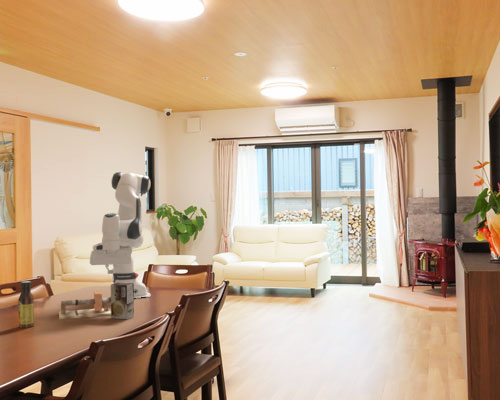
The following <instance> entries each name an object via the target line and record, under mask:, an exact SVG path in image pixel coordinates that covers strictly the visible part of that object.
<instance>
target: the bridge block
mask: <svg viewBox="0 0 500 400" xmlns="http://www.w3.org/2000/svg"><path fill="white" fill-rule="evenodd" d="M102 298H103V294H102V292H101V291H94V292H93V299H95V304H93V309H95V311H102V308H103V303H102Z"/></svg>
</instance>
